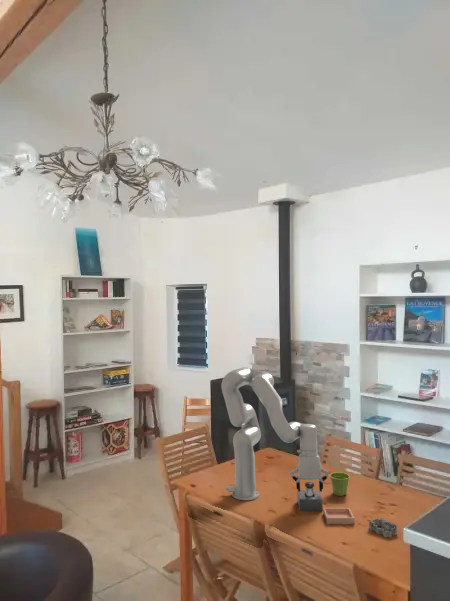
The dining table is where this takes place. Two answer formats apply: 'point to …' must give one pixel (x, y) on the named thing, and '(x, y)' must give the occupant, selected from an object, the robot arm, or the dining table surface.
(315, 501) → the socket block
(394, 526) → the egg carton
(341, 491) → the plant pot
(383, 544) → the dining table surface
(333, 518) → the tray
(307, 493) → the pin
